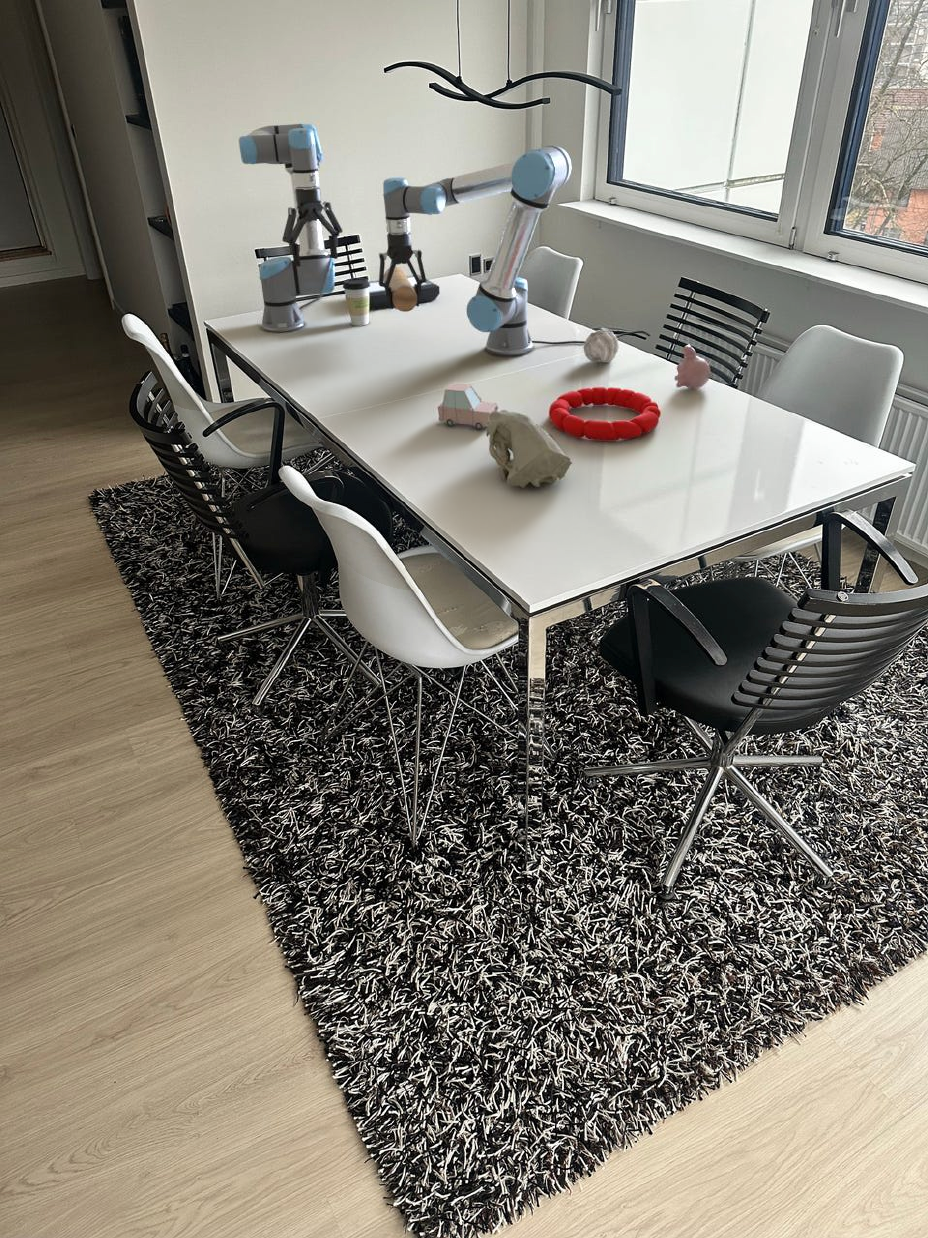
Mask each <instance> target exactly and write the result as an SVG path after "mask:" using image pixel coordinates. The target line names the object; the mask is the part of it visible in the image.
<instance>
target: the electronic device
mask: <svg viewBox="0 0 928 1238" xmlns="http://www.w3.org/2000/svg"><path fill="white" fill-rule="evenodd" d="M406 276H407V275H406ZM417 276H418V278H419V279H421V274H420V275H419V274H417ZM407 278H408V280H409V282H410V283H411V285H412V287H413V289H414V291H415V286H414V284H417V282H416V280H415V278H414V276H413V275H408V276H407ZM368 282H369V283H370V287H369V311H371V310H378V309H383V308H390V305H389V298H386V296H385V288H384V287H381V286H380V285H379V279H378V280H369V281H368ZM383 282H384V280H383ZM421 293H422V294H421V295H418V296H419V304H420V303H427V302H434V301H436V299H437V298H438V296H439V295H440V285H437V284H436V283H434V282H432V281H430V280H429V279H427V278H426V282H425V283H422V284H421ZM392 304H393V301H392ZM393 307H395V306H394V304H393Z"/></svg>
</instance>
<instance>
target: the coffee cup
mask: <svg viewBox="0 0 928 1238" xmlns="http://www.w3.org/2000/svg"><path fill="white" fill-rule="evenodd" d="M369 282H370V281H369V279H367V278H365V277H351V278H347V279H345V280H344V281H343V285H342V288H343V290H344V297H345V301H346V305H347V310H348V314H349V318H350V323H351V325H353V326H357V327H359V326H365V325H368V324H369V317H370V316H369V313H370V310H369V287H370V283H369Z"/></svg>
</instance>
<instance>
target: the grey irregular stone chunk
mask: <svg viewBox="0 0 928 1238" xmlns="http://www.w3.org/2000/svg"><path fill="white" fill-rule="evenodd" d="M485 436H486V438H487V437H489V438H488V440H489V444H488V445H489V446H488V450H489V454H490V456H491V457H492V458H493V459H494V460H495V462H496V464H497V466H499V468H500V470H501V471H502V472H501V478H502V479H507V480H506V484H507V486H517V487H518V486H519V488H523V489H524V488H526V486H527V485H529V483H531V485H533V486H534V487H536V488H540V485H541V484H542V482H544V483H549V484H550V485H553V484H555V483H556V482H557V480H561V479H563V478H565V476H566V474H567V472H568V471H569V469H570V467H571V466H572V464H573V462H572V461H571V458H570V457H568V456H567V455H565V453H564V451H562V449H561V448H560V446H559V444H557V443H556V439H555V438H554V436H553V435H551V434H550V433H548V432H547V431H546V430H545V429H544V428H542V427H541V426H539V425H538V424H537V423H536V424H535V422H534V421H533V419H532V418H531V417H530V416H529V415H527V414H524V413H519V412H515V411H509V410H507V409H502V410H500V411H499V410H497V411H496V412H492V413H491V414H490V422H488V423H487V427H486V435H485ZM511 453H512V454H511ZM511 455H512V457H513V458H512V460H511ZM507 474H508V475H507Z"/></svg>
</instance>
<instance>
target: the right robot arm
mask: <svg viewBox="0 0 928 1238" xmlns="http://www.w3.org/2000/svg"><path fill="white" fill-rule="evenodd" d="M571 173H572V160H571V158H570V156H569V153H567V151H566V150H565V149H564V148H562V147H560V146H558V145H555V144H551V145H546V146H542V147H540V148H537V149H532V150H531V149H530V150H529V151H526V152H525V153H523V155H521V156H520V157H518V158H517V160H515V161H512V162H509V163H504V164H500V165H497V166H493V167H489V168H484V169H481V170H476V171H473V172H469V173H464V174H461V175H457V176H453V177H447V178H444V179H441V180H439V181H435V182H433V183H429V184H427V185H423V186H420V185H419V186H412V185H409V184H408V180H407V178H405V177H399V176H398V177H388V178H386V179H384V181H383V184H382V186H383V187H382V188H383V190H382V191H383V194H382V196H383V203H384V212H385V228H386V233H387V234H386V240H387V250H386V251H385V252H379V253H378V257H379V270H378V272H379V273H378V280H379V285H380V286H381V287H384V288H385V296H386V298H389V305H390V307H389V309H390V310H393V308H394V306H393V304H392V292H391V287H390V286H389V284H390V281H391V278H392V275H393V272H394V269H395V267H397V265H407V267H408V269H409V270H410V272H411V274H412V276H414V278H415V280H416V282H417V284H414V286H415V292H416V294H417V303H416V305H415V307H420V303H419V296H418V295H421V294H422V293H421V284H422V283H425V282H426V279H427V277H426V273H425V269H424V264H423V260H422V258H423V257H422V255H423V252H422V250H421V249H413V246H412V233H411V232H410V231H411V220H410V219H411V218H410V214H419V215H428V216H432V215H440V214H442V212H443V210H444V209H445V208H447V207H450V206H453V205H454V206H455V205H459V204H461V203H466V202H470V201H471V202H472V201H474V200H478V199H483V198H488V197H492V196H496V195H501V194H506V193H510V196H511V198H512V203H511V206H510V208H509V212H508V215H507V218H506V220H505V223H504V227H503V229H502V232H501V236H500V239H499V241H498V244H497V247H496V250H495V253H494V256H493V259H492V261H491V265H490V268H489V271H488V273H487V276H485V277H484V278H481V280H480V281H479V285H478V287H477V290H476V293H475V295H473V296H472V297H471V298H470V299H469V301H468V302H467V304H466V317H467V318H468V321H469V323H470V325H471V326H472V327H473V328H474V329H476V330H477V331H479V332H481V333H489V334H488V338H487V340H486V344H485V345H486V351H487V352H488V353H490V354H492V355H495V356H502V357H516V356H521V355H525V354H528V353H530V352H531V351H532V350H533V344H543V345H564V344H565V345H567V344H568V345H569V344H583V345H584V344H585V342H586V340H568V341H543V340H532V337H531V334H530V331H529V327H528V294H529V293H528V291H529V289H528V281H527V279H525V278H523V277H520V276H518V275H519V273H520V270H521V268H522V265H523V262H524V259H525V257H526V254H527V251H528V249H529V245H530V243H531V240H532V237H533V235H534V231H535V229H536V226H537V224H538V221H539V218H540V215H541V212H543V211H545V210H548V208H549V206H550V204H551V201H552V198H553V195H554V193H555V191H556V190H558V189H561V188H562V187H563V186H564V185H565V184H566V183H567V182H568V180H570V179H569V178H570V176H571ZM413 255H414V257H415V258H416V262H417V265H418V271H419V274H420V276H421V279H419V278H418V276H417V275H418V273H417V272H416V270H415V268H414V266H413V264H412V261H411V258H412V257H413ZM387 257H388V258H389V259H390V260H391V261H390V265H389V268H388V269H389V271H388V274H387V277H386V280H385V282H383V279H384V274H385V265H386V260H387ZM634 334H644V335H646V336H648V337H652V335H651V334H650V333H649V332H647V331H645V330H634V331H629V332H623V333H619V334H617V335H615V336H616V338H617V339H618V338H621V337H623V336H630V335H634Z"/></svg>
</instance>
